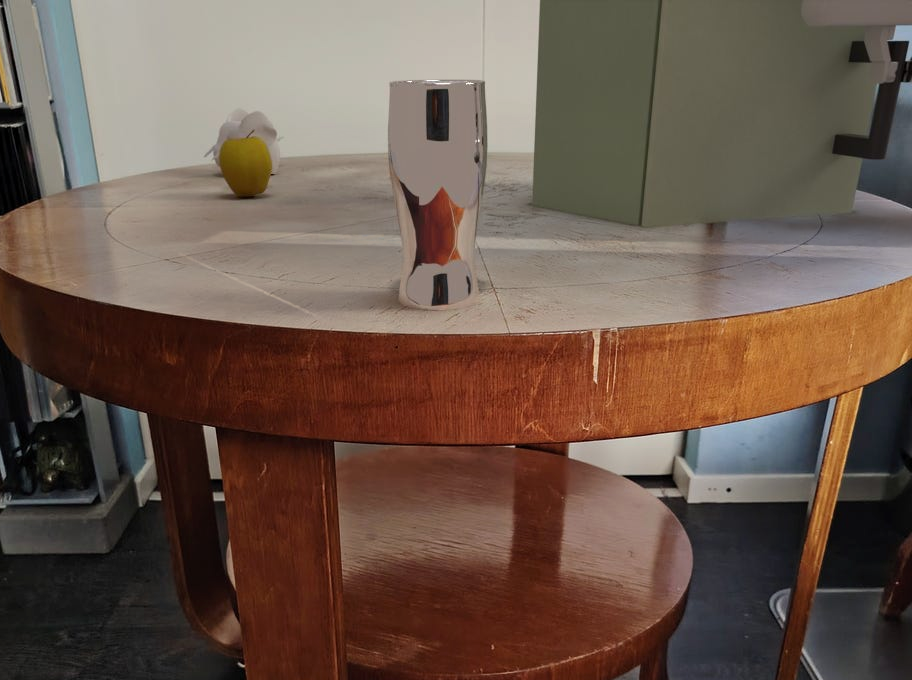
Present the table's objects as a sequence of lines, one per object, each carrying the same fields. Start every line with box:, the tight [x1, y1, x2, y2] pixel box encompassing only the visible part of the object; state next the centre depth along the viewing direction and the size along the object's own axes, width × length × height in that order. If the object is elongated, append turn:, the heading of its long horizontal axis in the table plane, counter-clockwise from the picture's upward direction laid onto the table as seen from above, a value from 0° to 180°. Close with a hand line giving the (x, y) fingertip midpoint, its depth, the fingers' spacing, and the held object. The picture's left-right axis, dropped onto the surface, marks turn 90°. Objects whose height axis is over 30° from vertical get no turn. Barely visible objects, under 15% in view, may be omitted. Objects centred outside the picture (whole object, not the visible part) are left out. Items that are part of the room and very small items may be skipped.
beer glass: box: [387, 79, 489, 312], centre depth 64 cm, size 7×7×15 cm
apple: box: [219, 130, 272, 198], centre depth 113 cm, size 6×6×8 cm
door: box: [640, 0, 910, 229], centre depth 83 cm, size 7×24×24 cm, turn 107°
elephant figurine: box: [203, 108, 285, 175], centre depth 133 cm, size 10×12×9 cm
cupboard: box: [531, 0, 662, 226], centre depth 95 cm, size 16×24×24 cm, turn 125°
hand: (896, 83), depth 82 cm, fingers closed on door, 2 cm apart
